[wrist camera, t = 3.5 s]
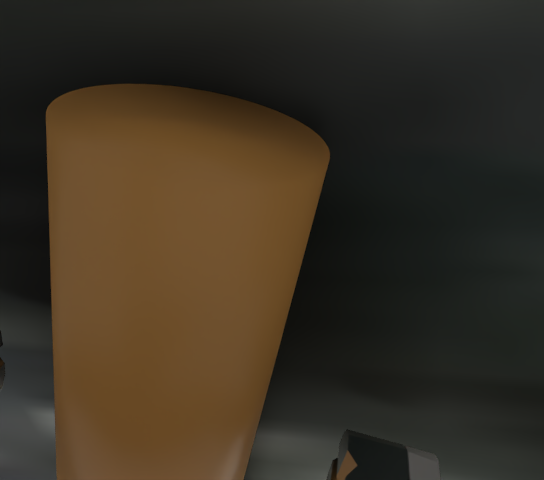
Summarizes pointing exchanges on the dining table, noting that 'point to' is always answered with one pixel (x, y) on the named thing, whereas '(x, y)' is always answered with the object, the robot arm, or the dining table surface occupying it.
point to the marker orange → (170, 274)
